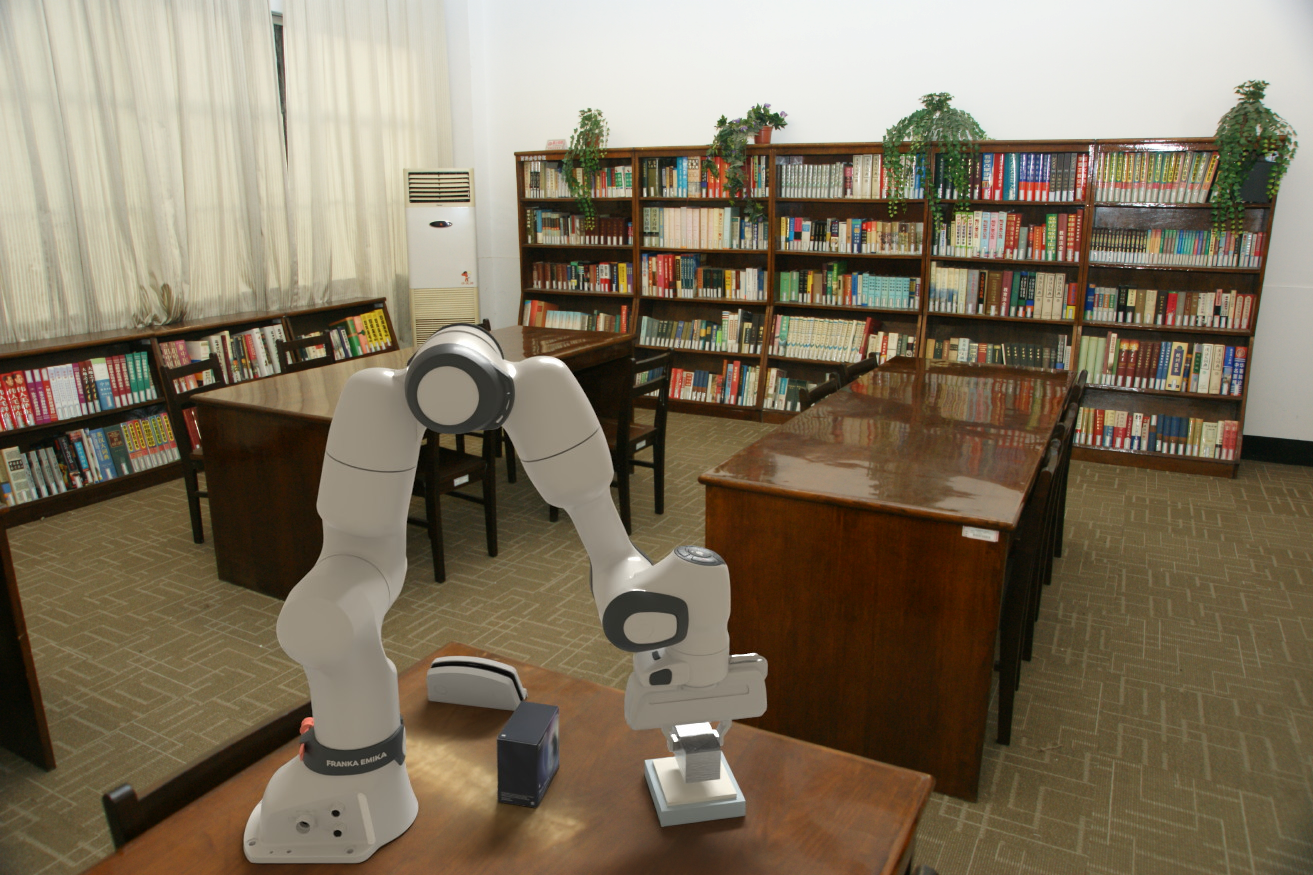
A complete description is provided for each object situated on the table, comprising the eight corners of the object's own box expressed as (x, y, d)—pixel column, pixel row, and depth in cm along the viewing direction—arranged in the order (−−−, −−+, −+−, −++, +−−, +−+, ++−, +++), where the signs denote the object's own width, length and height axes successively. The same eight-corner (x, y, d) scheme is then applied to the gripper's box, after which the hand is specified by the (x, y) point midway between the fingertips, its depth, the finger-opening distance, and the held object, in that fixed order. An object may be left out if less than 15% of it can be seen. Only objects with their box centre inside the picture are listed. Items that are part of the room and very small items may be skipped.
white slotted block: (529, 695, 157) (522, 655, 151) (521, 717, 153) (513, 677, 147) (439, 685, 160) (428, 645, 154) (429, 706, 156) (417, 667, 150)
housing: (670, 746, 134) (671, 716, 132) (703, 742, 135) (704, 712, 133) (685, 783, 125) (685, 751, 124) (720, 779, 126) (721, 747, 125)
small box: (539, 809, 128) (538, 744, 125) (496, 803, 129) (493, 738, 126) (562, 765, 138) (561, 704, 135) (521, 759, 139) (519, 699, 136)
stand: (661, 826, 124) (661, 807, 124) (644, 773, 136) (644, 756, 135) (745, 815, 127) (745, 796, 126) (721, 764, 138) (722, 747, 137)
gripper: (761, 641, 131) (757, 726, 134) (621, 654, 127) (621, 741, 130) (775, 662, 125) (771, 750, 128) (629, 677, 121) (629, 767, 124)
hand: (695, 746), depth 129 cm, fingers closed on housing, 5 cm apart
